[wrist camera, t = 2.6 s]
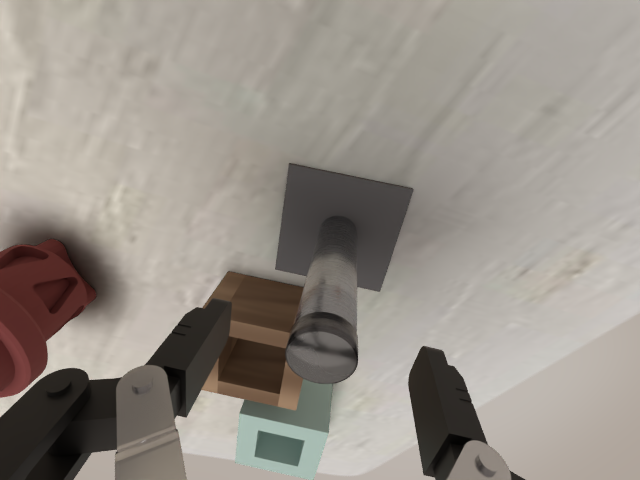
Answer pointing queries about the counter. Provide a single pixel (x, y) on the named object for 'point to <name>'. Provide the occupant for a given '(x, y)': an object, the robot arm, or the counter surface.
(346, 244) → the cylinder
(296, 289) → the wooden square frame
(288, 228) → the mat
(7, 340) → the mechanical component
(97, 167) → the counter surface
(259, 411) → the teal block
